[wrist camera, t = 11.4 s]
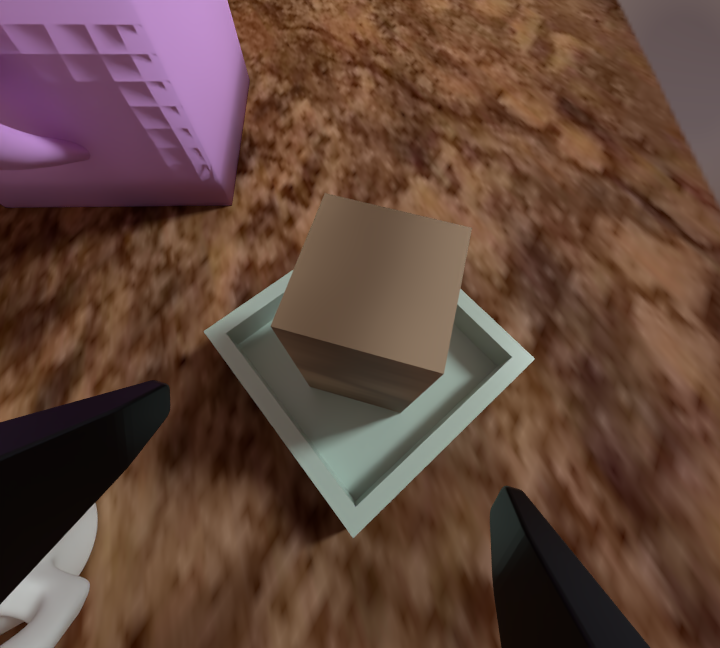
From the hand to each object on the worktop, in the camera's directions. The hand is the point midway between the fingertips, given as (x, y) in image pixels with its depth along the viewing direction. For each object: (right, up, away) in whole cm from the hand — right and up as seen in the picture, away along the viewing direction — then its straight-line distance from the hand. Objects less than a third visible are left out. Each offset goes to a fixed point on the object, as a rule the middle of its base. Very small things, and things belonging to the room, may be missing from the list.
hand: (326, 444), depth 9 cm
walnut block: (+1, +1, +10) cm, 10 cm away
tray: (+1, +1, +10) cm, 11 cm away
